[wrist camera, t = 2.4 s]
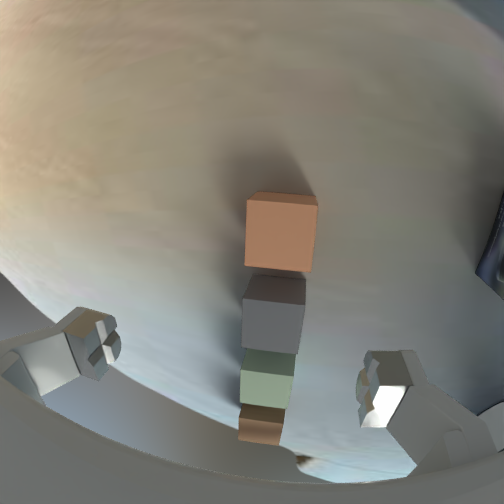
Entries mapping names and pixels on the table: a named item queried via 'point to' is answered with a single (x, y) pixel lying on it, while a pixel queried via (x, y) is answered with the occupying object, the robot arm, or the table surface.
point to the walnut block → (261, 424)
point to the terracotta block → (280, 231)
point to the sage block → (266, 378)
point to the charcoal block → (273, 313)
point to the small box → (494, 256)
